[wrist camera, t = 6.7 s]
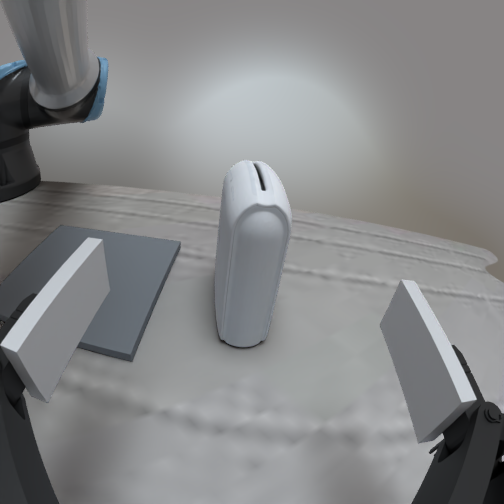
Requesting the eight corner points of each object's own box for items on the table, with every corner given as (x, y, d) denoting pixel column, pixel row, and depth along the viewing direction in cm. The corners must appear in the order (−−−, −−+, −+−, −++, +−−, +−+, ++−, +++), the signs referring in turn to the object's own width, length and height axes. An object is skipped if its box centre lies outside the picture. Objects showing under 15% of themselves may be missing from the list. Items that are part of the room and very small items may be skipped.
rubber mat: (61, 230, 33) (60, 225, 32) (180, 247, 33) (180, 241, 33) (-16, 313, 19) (-19, 306, 18) (132, 361, 20) (130, 354, 19)
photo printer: (212, 270, 31) (224, 147, 24) (254, 272, 31) (275, 152, 25) (214, 349, 22) (230, 189, 16) (270, 349, 23) (309, 196, 16)
